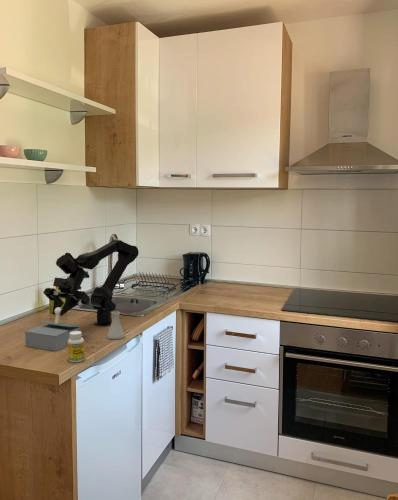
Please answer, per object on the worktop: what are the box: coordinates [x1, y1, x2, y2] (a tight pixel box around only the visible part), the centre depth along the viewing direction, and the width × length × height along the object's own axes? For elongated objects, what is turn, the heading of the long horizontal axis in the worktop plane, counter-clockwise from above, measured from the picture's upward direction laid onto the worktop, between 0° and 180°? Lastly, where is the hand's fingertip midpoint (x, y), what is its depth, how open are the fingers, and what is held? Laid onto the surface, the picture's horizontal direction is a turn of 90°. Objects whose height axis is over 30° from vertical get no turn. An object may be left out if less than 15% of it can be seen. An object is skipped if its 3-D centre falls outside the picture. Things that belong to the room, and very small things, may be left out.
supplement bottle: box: [67, 330, 86, 363], centre depth 154 cm, size 5×5×10 cm
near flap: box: [39, 307, 81, 328], centre depth 175 cm, size 7×14×7 cm, turn 68°
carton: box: [24, 324, 81, 352], centre depth 171 cm, size 14×14×6 cm
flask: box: [106, 311, 126, 341], centre depth 178 cm, size 7×7×10 cm
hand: (57, 314), depth 173 cm, fingers closed on near flap, 3 cm apart
